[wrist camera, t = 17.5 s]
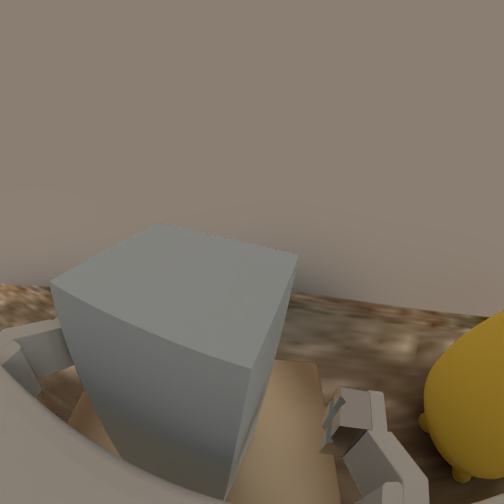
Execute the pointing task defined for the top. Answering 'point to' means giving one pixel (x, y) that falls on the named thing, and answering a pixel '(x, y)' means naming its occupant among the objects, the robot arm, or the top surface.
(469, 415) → the teapot
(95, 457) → the robot arm
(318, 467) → the maple block
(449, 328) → the top surface
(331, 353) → the top surface
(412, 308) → the top surface
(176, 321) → the gray block
